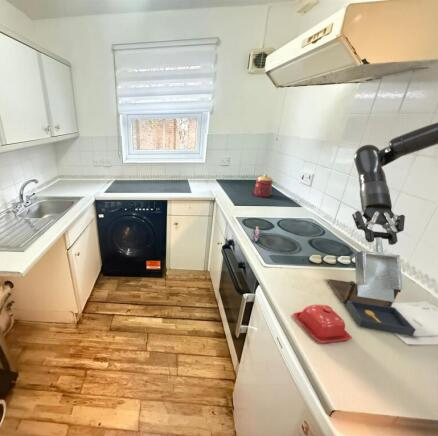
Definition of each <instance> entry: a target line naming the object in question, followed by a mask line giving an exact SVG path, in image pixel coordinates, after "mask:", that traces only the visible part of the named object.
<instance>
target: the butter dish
mask: <svg viewBox="0 0 438 436" xmlns="http://www.w3.org/2000/svg"><path fill="white" fill-rule="evenodd" d="M292 316H293V317H294V319H295V320H296V321H297V322H298V323H299V324H300V325H301V326H302V327H303V328H304V329H305V330H306V332H308V333H309V334H310V336H311V337H312V338H313V339H314V340H316V342H317V343H322V344H323V343H333V342H341V341H342V342H343V341H348V340H351V339H353V338H352V335H351V334H350V333H349V332H347V331H346V323H345V320H344V319H343V318H342V316H340V315H339V314H338V313H337V312H335V311H334V310H333V308H332V307H331V306H330V305H328V304H311V305H308V306H306V307H304V308H303V309H302V311H297V312H294V313H292Z"/></svg>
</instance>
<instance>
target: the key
mask: <svg viewBox="0 0 438 436" xmlns="http://www.w3.org/2000/svg"><path fill="white" fill-rule="evenodd" d="M365 314H367V315H368V316H371V317H372V318H373V319H374V320H375V321H377V322H380V321H379V320H378V319H377V318H376V317H375V316H374V315H375V314H374V313H373V312H372V311H369V310H365ZM381 323H382V322H381Z"/></svg>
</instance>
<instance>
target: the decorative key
mask: <svg viewBox="0 0 438 436" xmlns="http://www.w3.org/2000/svg"><path fill="white" fill-rule="evenodd" d="M254 232H255V234H254V239H253V242H256V243H257V242H258V239H259V234H260V229H259V226H258V225H256V227H255V231H254Z"/></svg>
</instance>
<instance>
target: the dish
mask: <svg viewBox="0 0 438 436" xmlns="http://www.w3.org/2000/svg"><path fill="white" fill-rule="evenodd" d="M373 235H374V239H375V248H376V249H375V251H366V250H360V251H355V252H354V264H355V265H354V267H355V283H356V295H357V297H364V298H370V299H377V300H383V301H389V302H393V303H395V300H394V289H397V290H401V291H403V279H402V278H403V277H402V267H401V255H400V254H395V253H394V254H393V253H386V252H385V253H384V250H383V249H384V248H383V240H388V239H389V238H390V233H387V231H386V232H385V231H374V230H373Z"/></svg>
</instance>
